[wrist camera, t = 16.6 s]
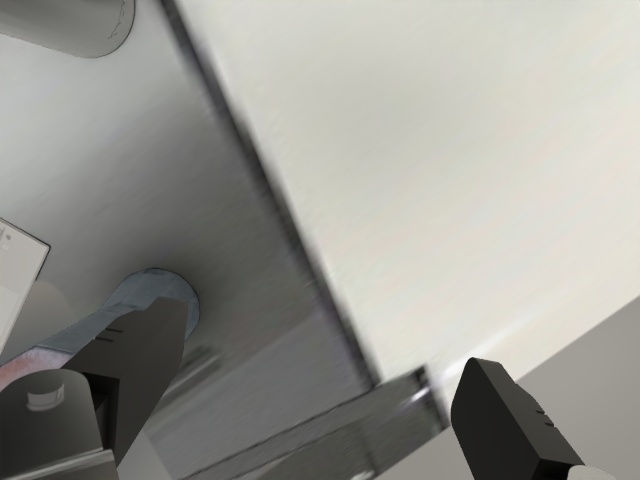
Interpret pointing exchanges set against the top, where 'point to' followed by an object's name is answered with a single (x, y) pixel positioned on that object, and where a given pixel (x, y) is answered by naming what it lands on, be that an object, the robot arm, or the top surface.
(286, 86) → the top surface
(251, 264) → the top surface
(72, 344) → the moka pot
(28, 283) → the laptop
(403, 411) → the top surface
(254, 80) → the top surface
